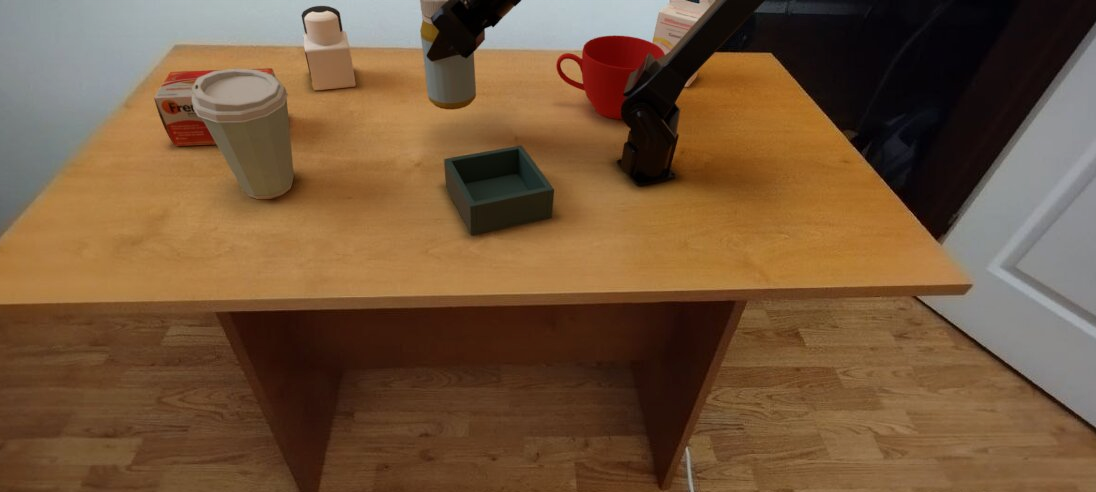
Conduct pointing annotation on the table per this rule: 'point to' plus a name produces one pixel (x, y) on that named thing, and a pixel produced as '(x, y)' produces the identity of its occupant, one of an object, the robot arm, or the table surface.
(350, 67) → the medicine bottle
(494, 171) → the box
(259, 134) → the disposable coffee cup
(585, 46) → the ceramic cup
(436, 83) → the bottle
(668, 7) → the ink cartridge box
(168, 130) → the medicine box
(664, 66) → the robot arm
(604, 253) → the table surface
